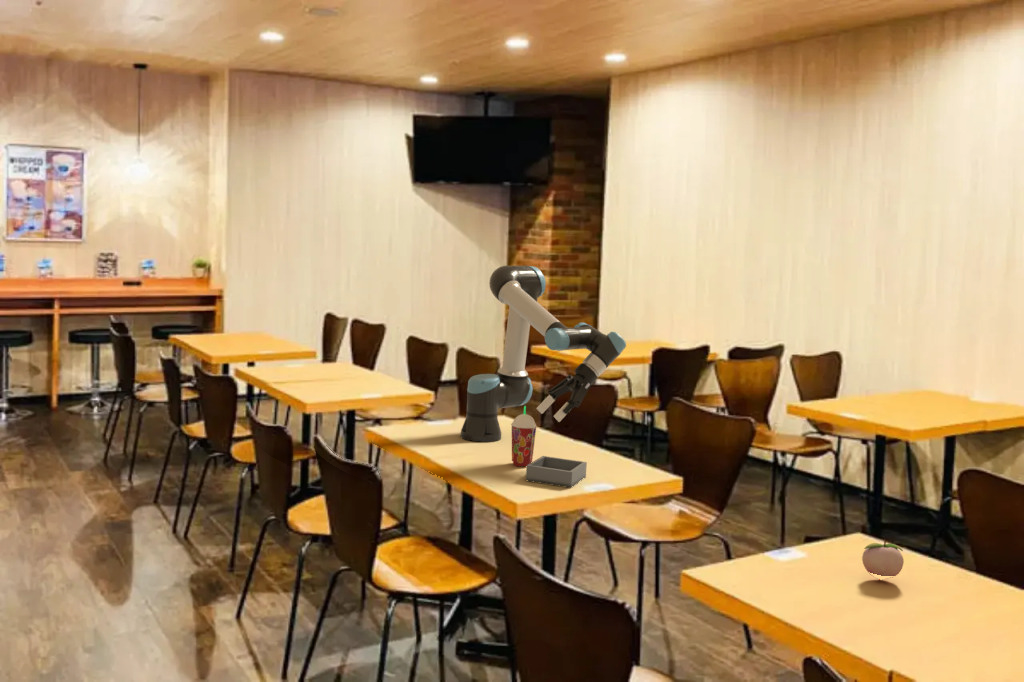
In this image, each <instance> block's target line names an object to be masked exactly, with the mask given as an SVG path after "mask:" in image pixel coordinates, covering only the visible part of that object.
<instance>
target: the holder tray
mask: <svg viewBox="0 0 1024 682" xmlns="http://www.w3.org/2000/svg"><path fill="white" fill-rule="evenodd" d="M587 463H588V462H587V461H581V460H576V459H575V460H574V459H567V458H561V457H554V456H547V455H542V456H540V457H538V458H537V459H535V460H534V461H533V460H532V462H531V463H530V464H528V465H527V467H525V468H526V472H525V473H526V474H525V481H526V480H528V481H527V482H529V481H534V482H533V483H535V482H541V483H540V484H542V483H547V484H546V485H548V484H553V485H552V486H555V485H560V486H559V487H561V486H566V487H565V488H568V487H572V486H573V487H574V485H575V484H576V483H577V484H579V483H580V482H581V481H583V480H584V479H586V478H587V477H586V476H587V466H588V465H587ZM583 478H584V479H583ZM582 479H583V480H582ZM580 480H581V481H580ZM579 481H580V482H579ZM578 482H579V483H578ZM577 484H576V485H577ZM576 485H575V486H576ZM573 487H572V488H573Z"/></svg>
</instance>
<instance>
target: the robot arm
mask: <svg viewBox="0 0 1024 682" xmlns="http://www.w3.org/2000/svg"><path fill="white" fill-rule="evenodd" d="M546 285H547V284H546V278H545V275H544V274H543V273H542V271H541V269H540V268H538V267H536V266H531V265H503V266H500V267H498V268H496V269H495V270H494V271H493V272H492V273H491V275H490V277H489V289H490V291H491V293H492V295H493V296H494V297H495V298H496V299H497V300H498V301H499V302H500V303H502V304H504V305H507V306H509V308H508V316H507V325H506V331H505V332H506V333H505V340H504V341H505V342H504V350H503V358H502V359H503V360H502V366H501V367H500V368H498V369H497V374H495V373H481V374H476V375H472V376H470V378H469V379H468V381H467V388H466V391H467V393H466V394H467V395H466V417H465V419H464V421H463V425H462V427H461V429H460V438H461V437H462V439H463V440H467V441H470V440H472V441H471V442H478V441H481V443H485V442H487V443H488V442H489V443H490V442H497V441H500V440H501V439H502V430H501V426H500V422H499V420H498V416H499V415H498V412H499V409H503V408H504V409H505V408H517V407H520V406H525V404H527V403H528V402H529V401H530V399H531V398H532V395H533V391H534V390H533V383H532V380H531V378H530V377H529V373H528V371H527V370H526V369H525V367H526V360H527V353H528V346H529V338H530V328H531V326H532V328H534V329H535V330H536V331H537V332H538V333H540V334H541V335H542V336H543V337H544V343H545V344H546V347H547V348H548V349H549V350H550V351H557V352H558V351H559V352H561V351H569V350H587V351H589V352H590V353H589V354H588V355H587V356H586V357H585V358H584V359H583V361H582V362H581V363H579V365H578V366H577V367H576V368H575V369H574V373H575V375H574V376H572V375H571V374H569V375H567V376H566V377H565V378H564V379H562V380H561V381H559V383H557V384H556V385H554V386H553V387H551V388H550V389H549V390H547V393H548V396H546V397H545V398H544V399H543V401H542V402H540V404H539V405H538V406H537V407H536V410H537V411H538V412H539V414H541V415H542V414H544V413H545V411H547V409H549V407H550V406H551V405H552V404H553V403H554V402H555V401H556V400H557V398H559V397H560V396H562V395H564V394H566V393H568V392H571V395H570V397H569V399H568V400H567V401H566V402H565V403H564V404H563V405H562V406H561V408H559V410H557V411H556V412H555V414H554V415H553V418H555V420H556V421H557V423H560V422H561V421H562V420H563V419H564V418H565V417H566V416H567V414H568V413H570V411H571V410H572V409H575V407H576V408H579V407H580V406H581V404H582V402H583V400H584V399H585V397H586V395H587V394H588V391H589V390H590V389H591V388H592V385H593V384H594V382H595V381H597V379H598V377H600V376H601V375H602V374H603V373H604V372H605V371H606V369H607V368H608V367H609V366H610V365H611V364H612V363H613V362H614V361H615V360H616V359H617V358H618V357H619V356H620V355H621V354H622V352H623V351H624V349H626V347H627V342H626V341H625V339H624V338H623V337H622V336H621V334H619V333H618V332H616V331H610V332H609V333H607V334H605V333H603V332H601V331H600V330H598V329H597V328H595V327H593V326H592V325H590V324H587V323H586V322H578V324H575V325H574V327H567V326H566V325H565V324H563V322H561V321H560V320H558V318H556V317H555V316H554V315H553V314H552V313H550V311H548V310H547V309H546V308H545V307H543V306H542V305H541V303H539V302H538V298H539V297H541V296H543V294H544V292H545V291H546Z"/></svg>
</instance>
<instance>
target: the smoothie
mask: <svg viewBox="0 0 1024 682" xmlns="http://www.w3.org/2000/svg"><path fill="white" fill-rule="evenodd" d="M523 406H524V407H523V413H520V414H518V415H517V416H516V417H515V418H514V419H513V421H512V423H510V424H511V461H512V464H513V466H515V467H519V466H527V465H528V464H530V463H532V462H533V456H534V449H535V448H534V447H535V439H536V432H537V424H536V422H535V419H534V418H533V417H532V416H531V415H529V414H527V412H526V409H527V406H526V405H523Z"/></svg>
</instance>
